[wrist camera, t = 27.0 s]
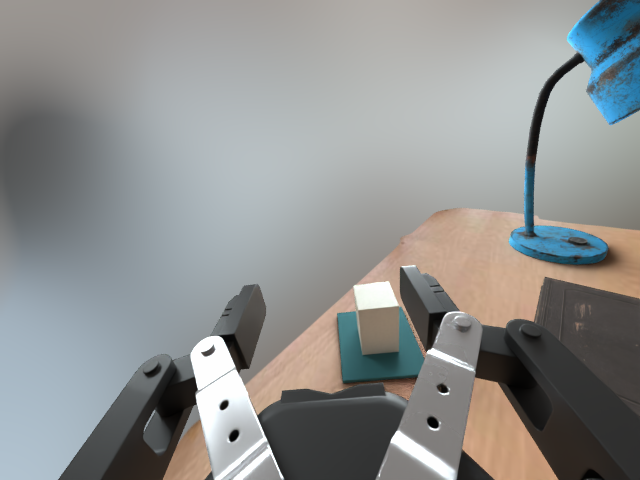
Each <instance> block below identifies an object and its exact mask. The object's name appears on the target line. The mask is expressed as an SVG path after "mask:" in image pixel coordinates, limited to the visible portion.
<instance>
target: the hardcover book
mask: <svg viewBox="0 0 640 480" xmlns="http://www.w3.org/2000/svg"><path fill="white" fill-rule="evenodd" d="M534 322H535V323H537V324H539V325H541V326H543V327H545V328H546V329H548V330H549V331H550V332H551V333H552V334H553V335H554V336H555V337H556V338H557V339H558V340H559V341H561V342H562V343H563V344H564V345H565V346H566V347H567V348H568V349H569V350H570V351H571V352H572V353H573V354H574V355H575V356H576V357H577V358H578V359H579V360H580V361H581V362H582V363H583V364H584V365H586V366H587V367H588V368H589V369H590V370H591V371H592V372H593V373H594V374H595V375H596V376H597V377H598V378H599V379H600V380H601V381H602V382H603V383H604V384H605V385H606V386H607V387H608V388H610V389H611V390H612V391H613V392H614V393H615V394H616V395H617V396H618V397H619V398H620V399H621V400H622V401H623V402H624V403H625V404H626V405H627V406H628V407H629V408H630V409H631V410H632V411H634V412H635V413H636V414H637V415H638V416H639V417H640V299H639V298H634V297H630V296H626V295H621V294H617V293H613V292H608V291H604V290H600V289H595V288H591V287H587V286H582V285H578V284H574V283H569V282H565V281H561V280H556V279H552V278H548V277H545V278H544V282H543V286H542V287H541V292H540V296H539V301H538V306H537V311H536V315H535V320H534Z"/></svg>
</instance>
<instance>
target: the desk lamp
mask: <svg viewBox="0 0 640 480" xmlns="http://www.w3.org/2000/svg"><path fill="white" fill-rule="evenodd" d="M567 41H568V42H569V43H570V44H571V45H572V47H573V48H574V49H575V50H576V51H577V53H576V54H575V55H574V56H573V57H572V58H571V59H570V60H569V61H567V62H566V63H565V64H564V65H562V66H561V67H560V68H559V69H558V70H556V71H555V72H554V73H553V75H552V76H551V77H550V78H549V79H548V80H547V81H546V83H545V84H544V86H543V88H542V90H541V91H540V93H539V97H538V100H537V104H536V106H535V109H534V114H533V118H532V122H531V127H530V133H529V141H528V148H527V157H526V164H525V189H524V212H525V213H524V219H525V227H520V228H518V229H515V230H514V231H512V232H511V236H510V239H509V243H510V245H511V246H512V247H513V248H515V249H516V250H518V251H519V252H521V253H523V254H526V255H528V256H531V257H534V258H537V259H541V260H545V261H550V262H556V263H562V264H591V263H597V262H599V261H601V260H604V258H605V256H606V254H607V252H608V249H609V248H608V245H607V243H605V242H604V241H603V240H602V239H599V238H597V237H595V236H593V235H591V234H588V233H585V232H581V231H577V230H573V229H568V228H562V227H554V226H534V206H533V205H534V202H533V201H534V175H535V161H536V154H537V147H538V141H539V134H540V127H541V122H542V119H543V115H544V111H545V107H546V104H547V101H548V98H549V95H550V93H551V91H552V89H553V87H554V86H555V84H556V83H557V82H558V81H559V80H560V79H561V78H562V77H563V76H564V75H565V74H566V73H567V72H569V71H570V70H571V69H573V68H574V67H575V66H577V65H578V64H579V63H582V62H584V61H585V62H586V63H587V64H588V66H589V67H590V68H591V71H592V73H591V76H590V80H589V83H588V86H587V90H586V92H587V93H588V95H589V96H590V98H591V99H592V100H593V102H594V103H595V105H596V106H597V108H598V109H599V111H600V112H601V113H602V115H603V116H604V118H605V119H606V121H607V122H608V123H609V125H613V124H615V123H617V122H619V121H621V120H623V119H625V118H627V117H629V116H630V115H632V114H634V113H636V112H637V111H639V110H640V0H600V1H599V2H597V3H596V4H595V5H594V6H593V7H592V8H591V9H590V10H589V11H588V12H587V13H586V14H585V15H584V16H583V17H582V18H581V19H580V20H579V21H578V22H577V23H576V24H575V26H574V27H573V29H572V30H571V31H570V33H569V34H568V36H567Z"/></svg>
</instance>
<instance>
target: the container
mask: <svg viewBox="0 0 640 480" xmlns="http://www.w3.org/2000/svg"><path fill="white" fill-rule="evenodd" d="M353 288H354V297H355V307H356V316H357V326H358V332H359V338H360V344H361V349H362V355H367V354H378V353H389V352H399V305H398V302H397V300H396V298H395V295H394V293H393V291H392V289H391V286H390V284H389V282H380V283H371V284H363V285H354V286H353Z"/></svg>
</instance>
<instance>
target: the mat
mask: <svg viewBox="0 0 640 480" xmlns="http://www.w3.org/2000/svg"><path fill="white" fill-rule="evenodd" d="M337 316H338V328H339V341H340V354H341V366H342V379H343V383H352V382H364V381H377V380H389V379H401V378H414V377H418V375H419V372H420V370H421V367H422V365H423V362H424V357H423V355H422V352H421V350H420V348H419V346H418V343H417V341H416V339H415V337H414V334H413V332H412V330H411V328H410V325H409V323H408V321H407V319H406V316H405V314H404V312H403V310H402V308H401V307H399V352H389V353H378V354H367V355H362V349H361V344H360V338H359V332H358V326H357V316H356V311H355V312H346V313H337Z"/></svg>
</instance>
